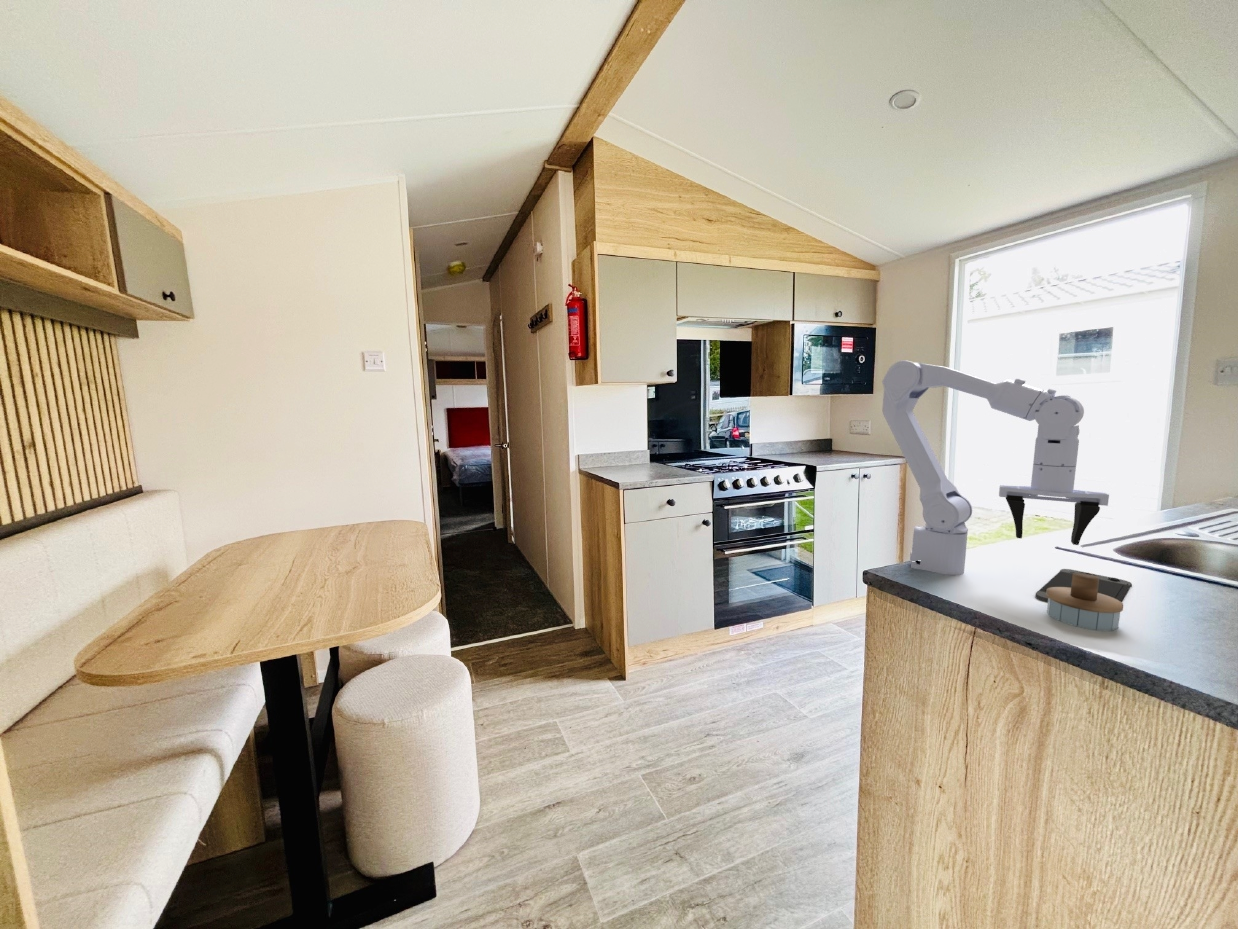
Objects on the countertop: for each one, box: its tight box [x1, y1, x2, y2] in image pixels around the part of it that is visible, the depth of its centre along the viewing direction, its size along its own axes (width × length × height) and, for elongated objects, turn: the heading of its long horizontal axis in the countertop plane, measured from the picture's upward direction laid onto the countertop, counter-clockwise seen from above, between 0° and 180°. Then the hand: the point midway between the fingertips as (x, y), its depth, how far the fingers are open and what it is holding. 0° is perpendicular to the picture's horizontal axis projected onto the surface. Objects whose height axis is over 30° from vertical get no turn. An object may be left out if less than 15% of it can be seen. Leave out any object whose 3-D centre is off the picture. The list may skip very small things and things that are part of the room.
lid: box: [1046, 573, 1124, 613], centre depth 78 cm, size 9×9×4 cm
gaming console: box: [1035, 568, 1133, 603], centre depth 90 cm, size 24×1×10 cm
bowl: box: [1046, 598, 1121, 632], centre depth 78 cm, size 8×8×4 cm
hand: (1046, 540), depth 89 cm, fingers open, 7 cm apart
